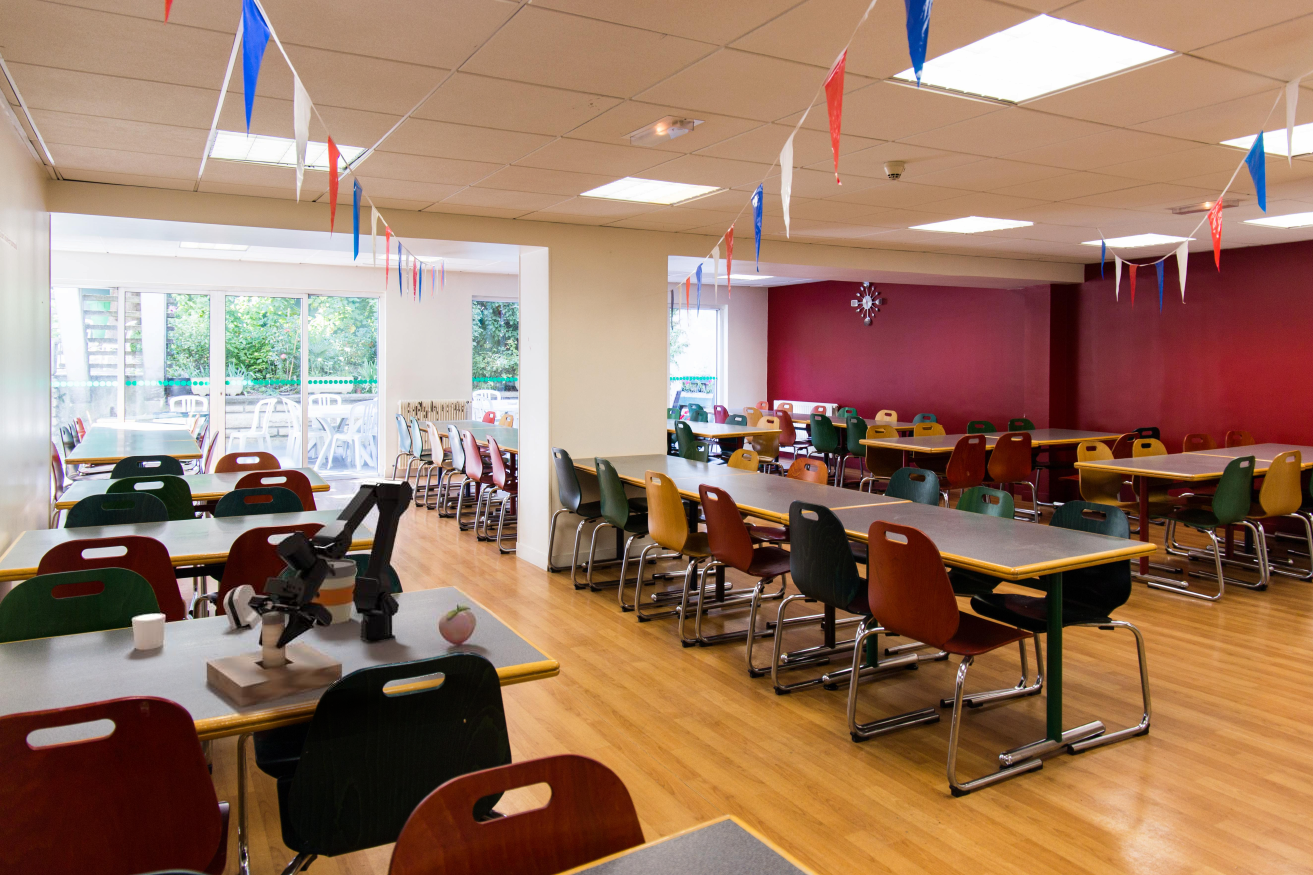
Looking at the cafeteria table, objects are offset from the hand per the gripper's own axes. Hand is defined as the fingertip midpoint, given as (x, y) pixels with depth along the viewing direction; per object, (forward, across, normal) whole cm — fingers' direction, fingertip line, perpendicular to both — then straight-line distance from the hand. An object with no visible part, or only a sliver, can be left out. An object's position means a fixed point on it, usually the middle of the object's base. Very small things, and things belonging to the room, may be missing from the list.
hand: (268, 646), depth 177 cm
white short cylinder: (0, -45, +11) cm, 46 cm away
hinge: (-18, -42, +29) cm, 54 cm away
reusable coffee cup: (-24, -22, +36) cm, 48 cm away
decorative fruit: (-20, +21, +32) cm, 43 cm away
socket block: (+5, 0, +6) cm, 8 cm away
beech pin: (+4, 0, +6) cm, 7 cm away
